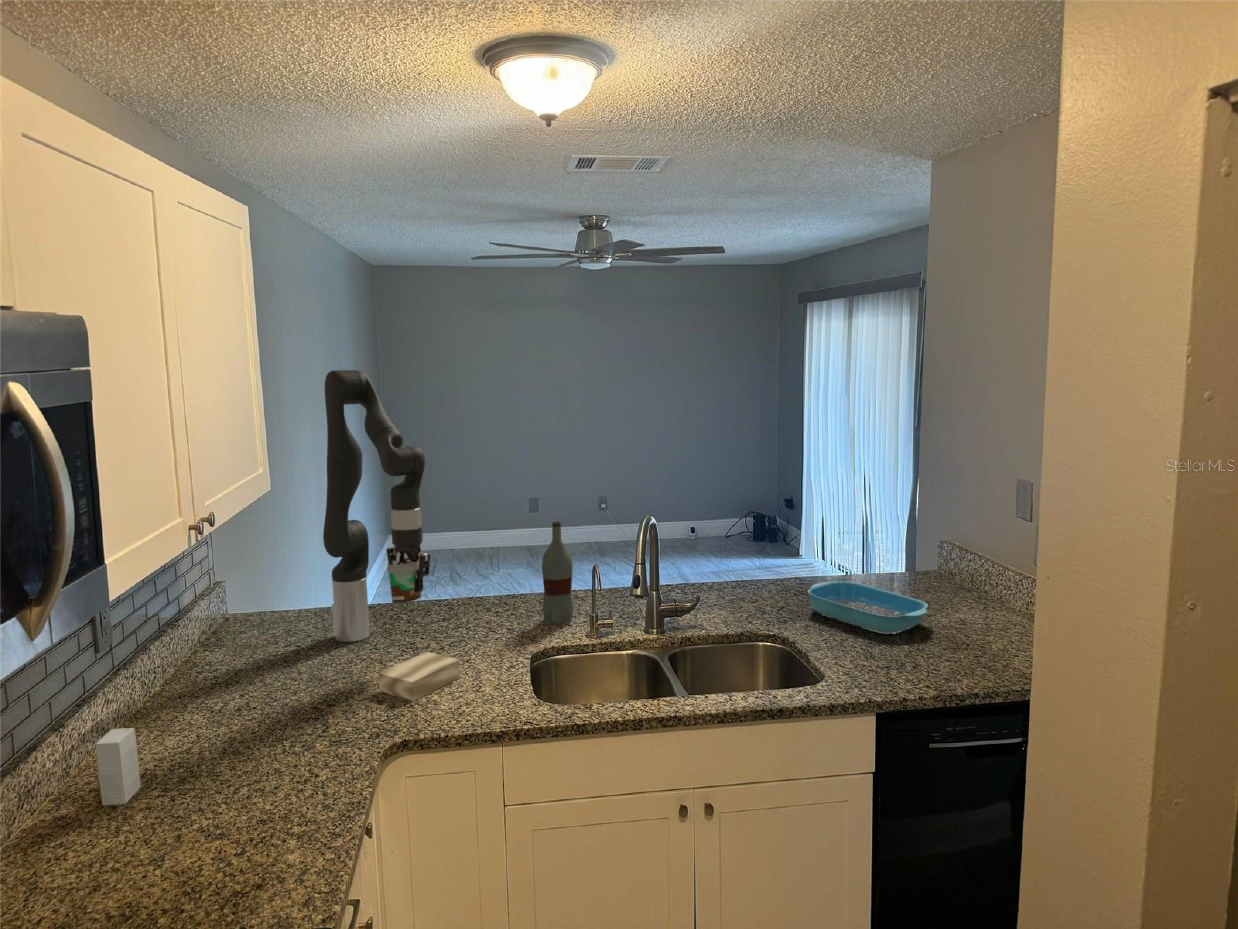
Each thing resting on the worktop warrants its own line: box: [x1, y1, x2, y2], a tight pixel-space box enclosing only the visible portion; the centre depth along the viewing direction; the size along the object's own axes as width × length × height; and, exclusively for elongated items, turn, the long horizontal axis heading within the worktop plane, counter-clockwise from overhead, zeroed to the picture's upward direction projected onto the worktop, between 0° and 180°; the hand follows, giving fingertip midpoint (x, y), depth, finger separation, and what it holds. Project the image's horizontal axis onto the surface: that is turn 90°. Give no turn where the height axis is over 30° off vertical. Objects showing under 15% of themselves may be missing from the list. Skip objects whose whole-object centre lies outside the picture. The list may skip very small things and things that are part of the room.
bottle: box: [541, 521, 574, 626], centre depth 247 cm, size 9×9×30 cm
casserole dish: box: [807, 580, 929, 632], centre depth 249 cm, size 37×22×7 cm, turn 38°
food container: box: [387, 560, 422, 604], centre depth 213 cm, size 12×6×10 cm, turn 167°
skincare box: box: [94, 727, 142, 806], centre depth 153 cm, size 6×4×12 cm
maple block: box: [378, 651, 461, 702], centre depth 203 cm, size 11×16×5 cm
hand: (409, 589), depth 214 cm, fingers closed on food container, 6 cm apart
